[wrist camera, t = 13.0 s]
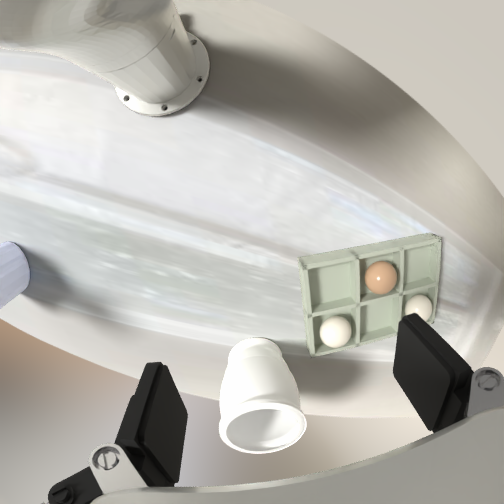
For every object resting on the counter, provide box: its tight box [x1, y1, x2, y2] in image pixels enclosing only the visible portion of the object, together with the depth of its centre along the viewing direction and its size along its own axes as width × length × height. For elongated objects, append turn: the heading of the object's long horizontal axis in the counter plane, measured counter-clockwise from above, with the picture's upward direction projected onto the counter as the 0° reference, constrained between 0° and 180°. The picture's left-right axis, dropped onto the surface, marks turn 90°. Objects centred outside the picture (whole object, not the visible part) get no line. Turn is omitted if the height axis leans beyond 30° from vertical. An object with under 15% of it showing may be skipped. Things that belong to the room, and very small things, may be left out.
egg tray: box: [297, 233, 441, 358], centre depth 40 cm, size 15×22×3 cm
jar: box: [219, 338, 306, 454], centre depth 37 cm, size 11×10×15 cm
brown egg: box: [365, 261, 397, 295], centre depth 37 cm, size 5×5×5 cm
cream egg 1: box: [320, 316, 352, 348], centre depth 39 cm, size 5×5×5 cm
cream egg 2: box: [405, 294, 432, 322], centre depth 39 cm, size 5×5×5 cm
